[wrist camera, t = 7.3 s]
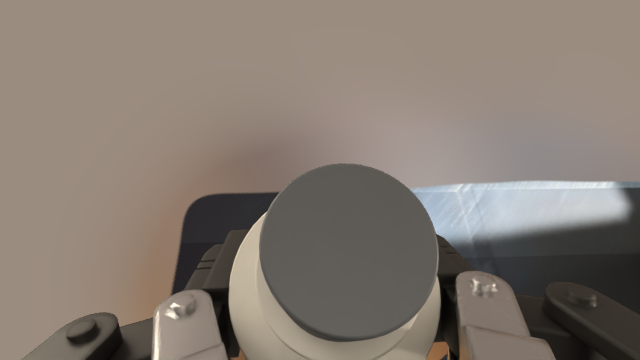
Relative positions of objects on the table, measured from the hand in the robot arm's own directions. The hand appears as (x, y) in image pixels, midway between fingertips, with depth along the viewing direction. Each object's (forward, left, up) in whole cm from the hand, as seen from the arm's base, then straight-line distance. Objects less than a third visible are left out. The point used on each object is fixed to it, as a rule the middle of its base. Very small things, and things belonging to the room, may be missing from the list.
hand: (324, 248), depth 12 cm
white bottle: (-1, -2, -6) cm, 6 cm away
